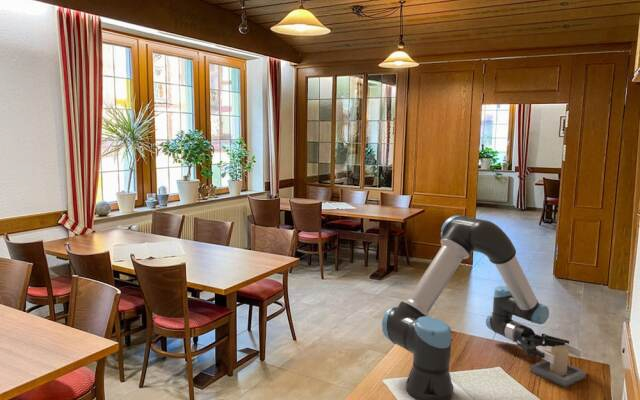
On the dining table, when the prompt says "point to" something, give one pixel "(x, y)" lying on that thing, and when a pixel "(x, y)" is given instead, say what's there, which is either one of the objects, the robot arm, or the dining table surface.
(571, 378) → the charcoal dish
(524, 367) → the dining table surface
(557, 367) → the candle
